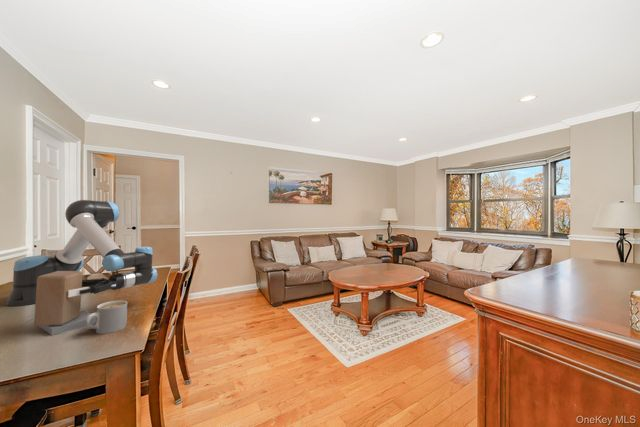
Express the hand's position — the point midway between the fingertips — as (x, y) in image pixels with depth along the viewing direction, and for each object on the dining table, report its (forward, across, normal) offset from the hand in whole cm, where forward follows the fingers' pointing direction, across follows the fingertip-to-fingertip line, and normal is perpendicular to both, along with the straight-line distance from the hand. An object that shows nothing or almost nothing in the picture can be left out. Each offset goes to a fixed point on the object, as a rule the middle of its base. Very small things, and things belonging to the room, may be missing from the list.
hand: (61, 291), depth 104 cm
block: (+1, 0, -13) cm, 13 cm away
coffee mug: (-9, -18, -15) cm, 25 cm away
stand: (-3, 0, -15) cm, 15 cm away
